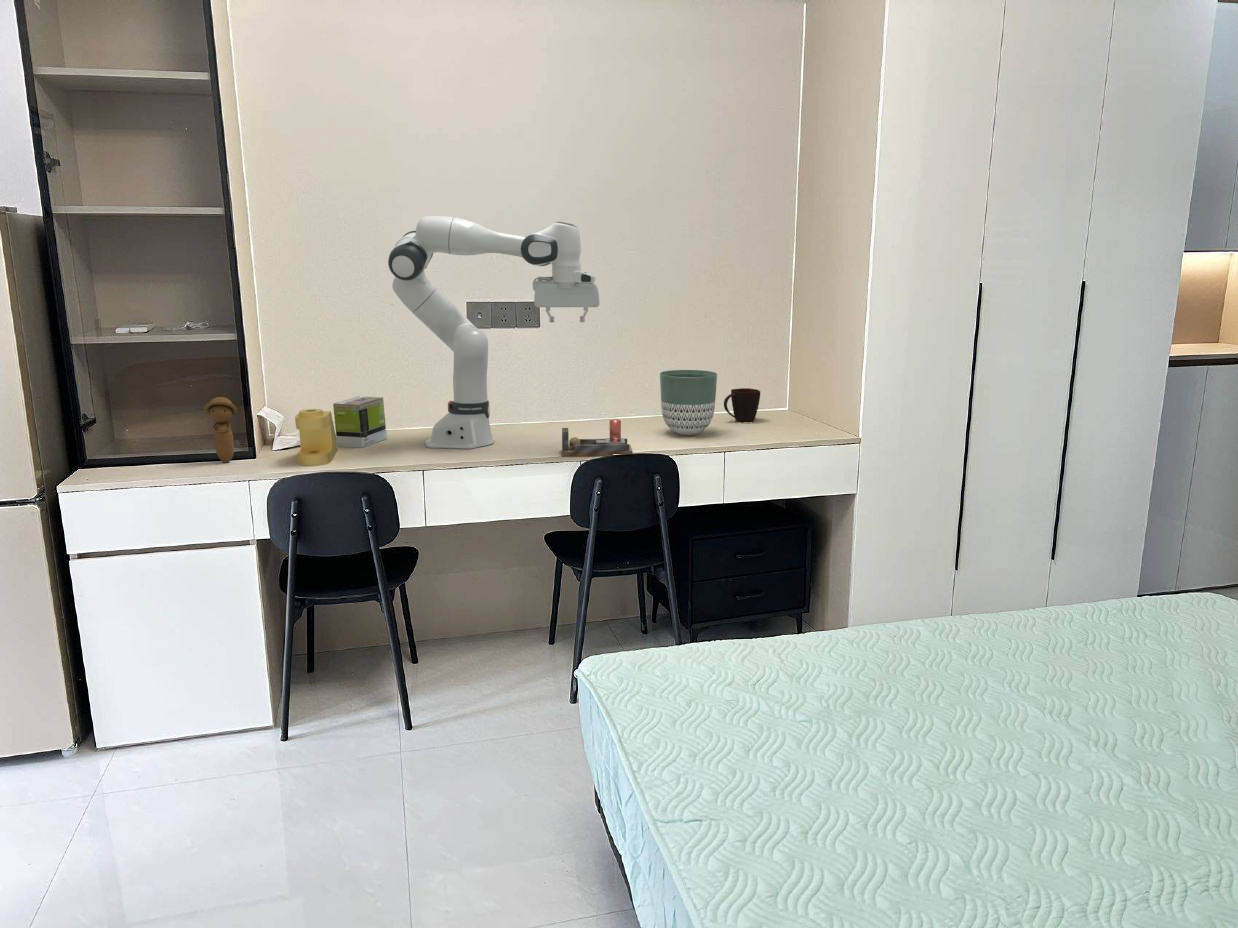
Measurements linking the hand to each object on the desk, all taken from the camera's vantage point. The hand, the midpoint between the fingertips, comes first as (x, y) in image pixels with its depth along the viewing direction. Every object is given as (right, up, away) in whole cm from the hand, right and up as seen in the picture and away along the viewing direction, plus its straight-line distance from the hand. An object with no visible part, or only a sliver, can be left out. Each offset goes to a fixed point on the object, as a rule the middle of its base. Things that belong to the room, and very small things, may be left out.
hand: (567, 322), depth 273 cm
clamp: (-77, -43, -1) cm, 88 cm away
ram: (+13, -39, +7) cm, 42 cm away
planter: (+40, -34, +36) cm, 64 cm away
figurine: (-103, -44, -6) cm, 112 cm away
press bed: (+9, -40, +7) cm, 42 cm away
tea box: (-70, -37, +22) cm, 82 cm away
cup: (+62, -29, +58) cm, 90 cm away
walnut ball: (+2, -39, +6) cm, 40 cm away
